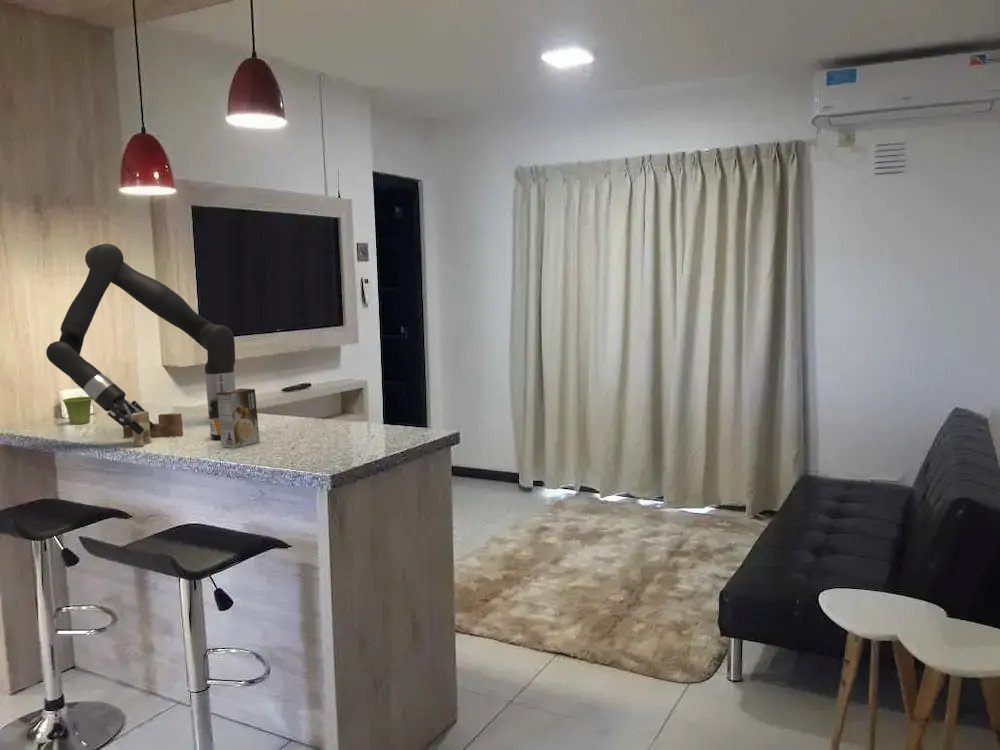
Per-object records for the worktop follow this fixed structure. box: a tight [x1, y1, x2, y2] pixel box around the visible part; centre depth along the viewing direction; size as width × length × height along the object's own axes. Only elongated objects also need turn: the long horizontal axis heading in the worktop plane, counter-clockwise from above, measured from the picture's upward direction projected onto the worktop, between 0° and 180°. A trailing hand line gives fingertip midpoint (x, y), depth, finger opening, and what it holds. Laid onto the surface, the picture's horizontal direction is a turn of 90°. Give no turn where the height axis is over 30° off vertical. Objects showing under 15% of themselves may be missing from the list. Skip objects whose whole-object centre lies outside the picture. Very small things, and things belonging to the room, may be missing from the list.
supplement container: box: [208, 398, 221, 441], centre depth 251 cm, size 10×10×12 cm
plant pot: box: [62, 396, 93, 425], centre depth 286 cm, size 9×9×9 cm
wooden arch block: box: [131, 410, 152, 447], centre depth 244 cm, size 2×6×10 cm, turn 178°
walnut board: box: [122, 413, 184, 439], centre depth 256 cm, size 18×2×7 cm, turn 88°
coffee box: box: [217, 388, 260, 449], centre depth 238 cm, size 9×6×16 cm
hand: (147, 430), depth 244 cm, fingers closed on wooden arch block, 6 cm apart
